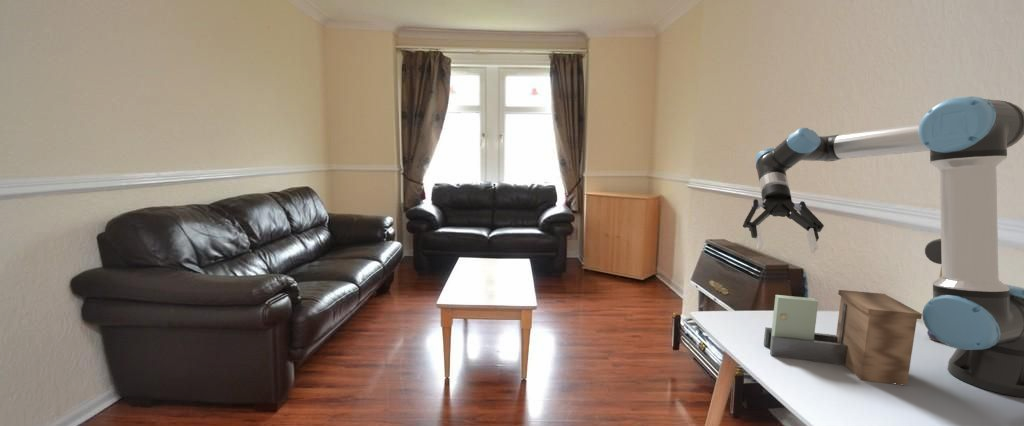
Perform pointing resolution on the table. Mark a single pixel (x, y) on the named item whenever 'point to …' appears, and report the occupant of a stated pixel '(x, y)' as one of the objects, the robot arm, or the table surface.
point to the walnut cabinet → (876, 335)
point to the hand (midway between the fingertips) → (786, 248)
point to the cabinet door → (794, 317)
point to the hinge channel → (807, 348)
